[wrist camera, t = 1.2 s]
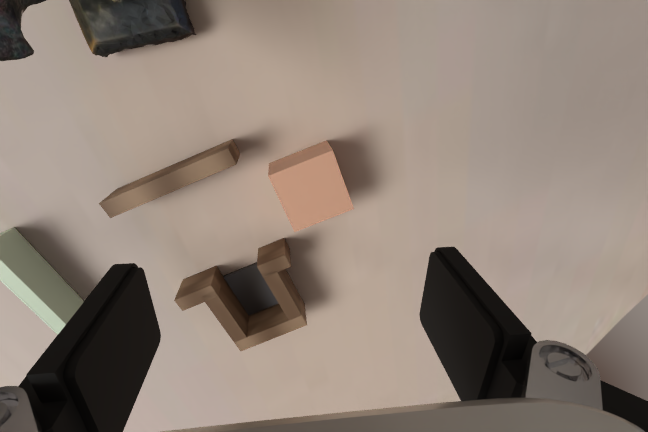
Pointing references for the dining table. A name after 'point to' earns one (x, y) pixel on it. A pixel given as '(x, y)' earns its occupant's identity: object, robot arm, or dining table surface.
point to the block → (310, 186)
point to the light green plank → (36, 281)
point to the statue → (103, 24)
